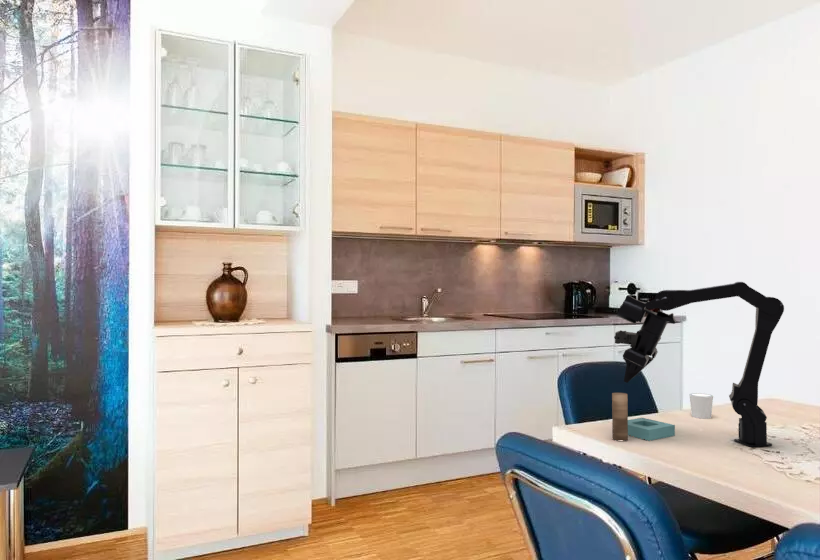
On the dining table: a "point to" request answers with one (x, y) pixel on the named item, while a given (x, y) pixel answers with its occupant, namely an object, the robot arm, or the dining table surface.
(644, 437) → the socket block
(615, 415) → the walnut pin
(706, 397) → the white cup
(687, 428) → the dining table surface
